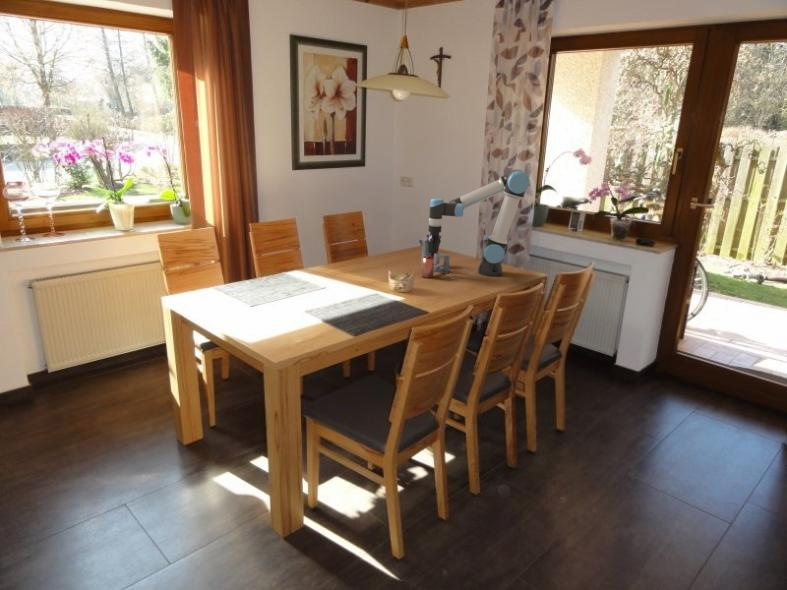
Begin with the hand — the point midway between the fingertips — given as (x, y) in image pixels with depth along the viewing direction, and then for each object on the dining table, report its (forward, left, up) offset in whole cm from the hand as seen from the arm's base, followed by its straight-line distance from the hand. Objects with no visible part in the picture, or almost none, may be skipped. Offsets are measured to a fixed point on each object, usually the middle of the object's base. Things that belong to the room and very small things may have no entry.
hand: (432, 264), depth 331 cm
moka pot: (+13, -18, -7) cm, 23 cm away
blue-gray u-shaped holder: (0, -11, -7) cm, 13 cm away
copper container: (0, -1, -6) cm, 6 cm away
